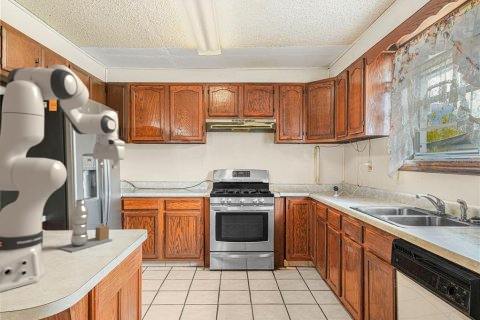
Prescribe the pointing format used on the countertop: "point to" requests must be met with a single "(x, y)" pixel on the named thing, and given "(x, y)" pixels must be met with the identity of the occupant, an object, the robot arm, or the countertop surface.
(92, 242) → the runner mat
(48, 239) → the countertop surface
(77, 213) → the plastic bottle
